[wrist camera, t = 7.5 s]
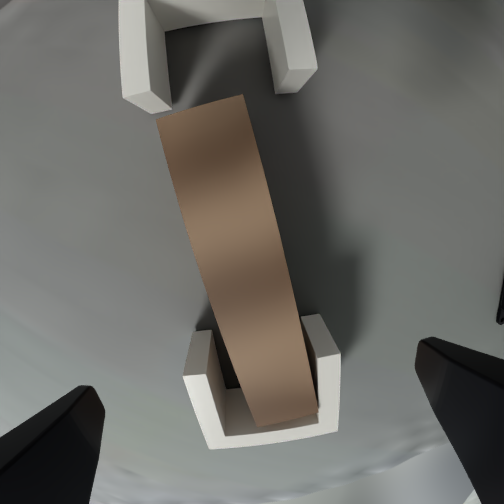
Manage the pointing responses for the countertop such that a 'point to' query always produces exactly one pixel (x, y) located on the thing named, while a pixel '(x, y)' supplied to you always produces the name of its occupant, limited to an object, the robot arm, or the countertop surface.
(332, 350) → the cap
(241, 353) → the brown bar
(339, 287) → the countertop surface
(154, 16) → the cap
